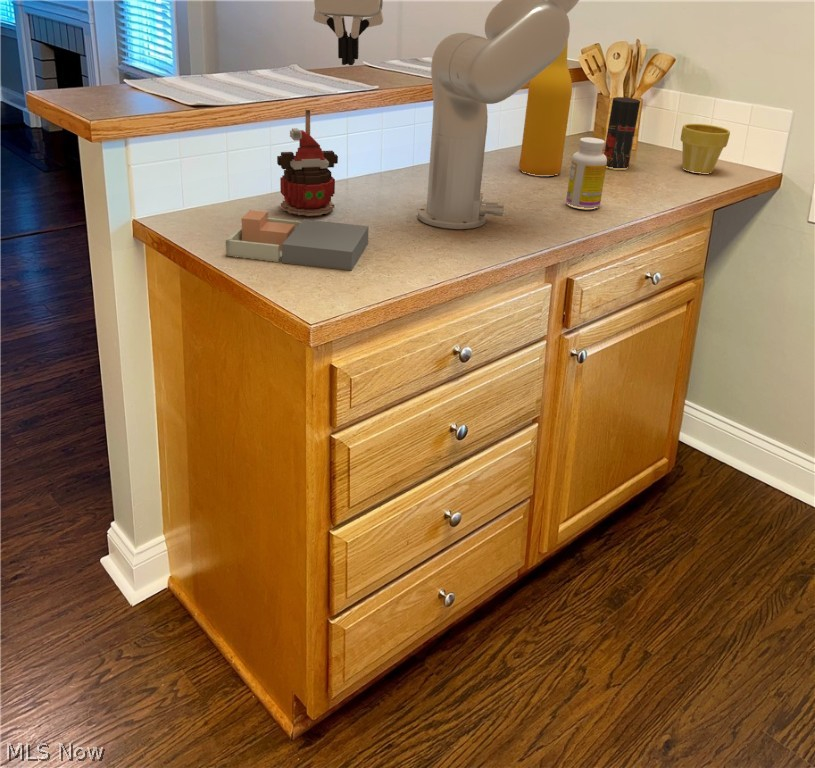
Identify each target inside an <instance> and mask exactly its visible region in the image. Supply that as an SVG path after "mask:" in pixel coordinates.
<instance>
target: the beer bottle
mask: <svg viewBox="0 0 815 768" xmlns="http://www.w3.org/2000/svg"><path fill="white" fill-rule="evenodd" d="M568 42H569V39H568V40H567V43H566V45H565V47H564V49H563V51H562V52H561V54H560V55H559V56H558V57H557V59H556V60H555V61H553V62H552V63H551V64H550V65H549V66H548V67H547V68H545V69H544V70H543V71H542V72H540V73H539V74H538V75H537V76H535V77H534V78H533V79H532V80H530V81H529V85H528V91H527V100H526V106H525V107H526V109H525V118H524V123H523V132H522V133H523V134H522V141H521V142H522V143H521V150H520V157H519V158H520V159H519V165H518V166H519V171H520V170H521V171H523V172H526V173H530V174H535V175H555V174H558V173H559V174H560V173H561V171H562V167H563V158H564V157H563V156H564V150H565V149H564V148H565V143H566V136H567V135H566V134H567V128H568V122H569V121H568V120H569V116H570V115H569V114H570V106H571V100H572V95H573V82H572V76H571V73H570V70H569V67H568V66H569V65H568V44H569V43H568ZM521 171H520V172H521Z"/></svg>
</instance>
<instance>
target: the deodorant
mask: <svg viewBox="0 0 815 768" xmlns="http://www.w3.org/2000/svg"><path fill="white" fill-rule="evenodd" d="M640 105H641V100H639V99H636V98H634V97H633V98H631V97H627V96H626V97H623V96H619V97H618V96H617V97H613V98H612V102H611V109H610V116H609V119H608V120H609V121H608V128H607V133H606V134H607V135H606V139H605V144H604V149H603V150H604V151H603V154H604V155H605V156H606V158H607V165H606V166H608V167H613V168H627V167H628V168H629V166H630V160H631V155H632V151H633V150H632V149H633V143H634V138H635V134H636V127H637V121H638V115H639V109H640Z"/></svg>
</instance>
